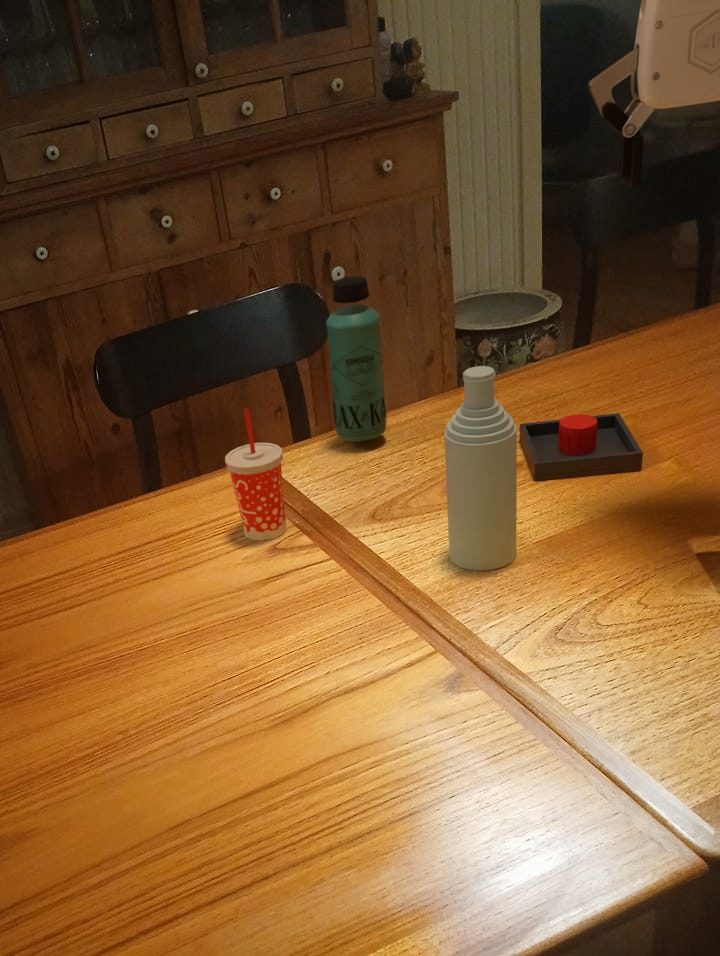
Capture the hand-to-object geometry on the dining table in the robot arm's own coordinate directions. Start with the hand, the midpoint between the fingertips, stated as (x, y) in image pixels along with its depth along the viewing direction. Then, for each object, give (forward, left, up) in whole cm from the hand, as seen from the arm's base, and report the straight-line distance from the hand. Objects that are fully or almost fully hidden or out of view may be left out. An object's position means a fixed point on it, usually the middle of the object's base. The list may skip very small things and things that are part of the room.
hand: (690, 176), depth 84 cm
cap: (+6, -13, -30) cm, 33 cm away
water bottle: (+19, +8, -30) cm, 37 cm away
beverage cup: (+41, -1, -31) cm, 51 cm away
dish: (+6, -12, -30) cm, 33 cm away
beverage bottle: (+30, -22, -31) cm, 48 cm away
